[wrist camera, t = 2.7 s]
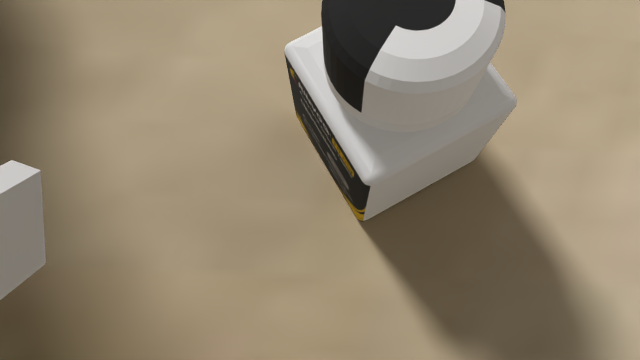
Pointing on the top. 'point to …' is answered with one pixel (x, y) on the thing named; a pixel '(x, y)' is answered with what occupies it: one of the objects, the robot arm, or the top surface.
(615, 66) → the top surface
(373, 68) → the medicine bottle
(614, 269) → the top surface
